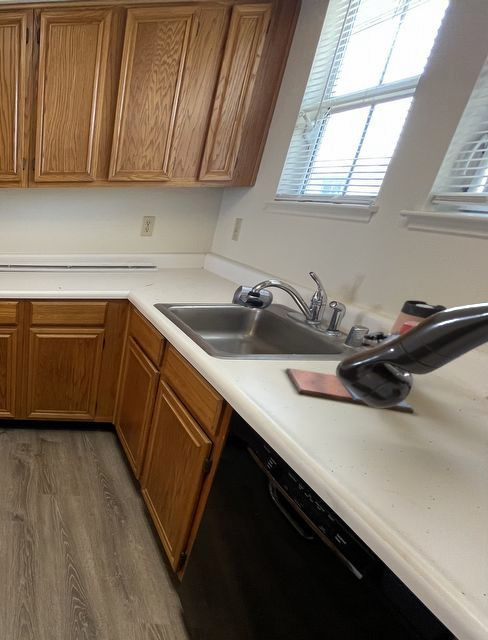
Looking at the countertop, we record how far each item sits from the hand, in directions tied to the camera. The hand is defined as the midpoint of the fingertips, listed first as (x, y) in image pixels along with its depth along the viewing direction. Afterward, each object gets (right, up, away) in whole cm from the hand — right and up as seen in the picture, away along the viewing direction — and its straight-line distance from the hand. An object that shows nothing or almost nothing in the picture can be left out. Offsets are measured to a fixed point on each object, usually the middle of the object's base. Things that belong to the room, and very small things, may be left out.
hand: (412, 339), depth 93 cm
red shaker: (-2, -7, +2) cm, 7 cm away
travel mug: (+11, -9, +17) cm, 23 cm away
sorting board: (-7, -12, +10) cm, 17 cm away
